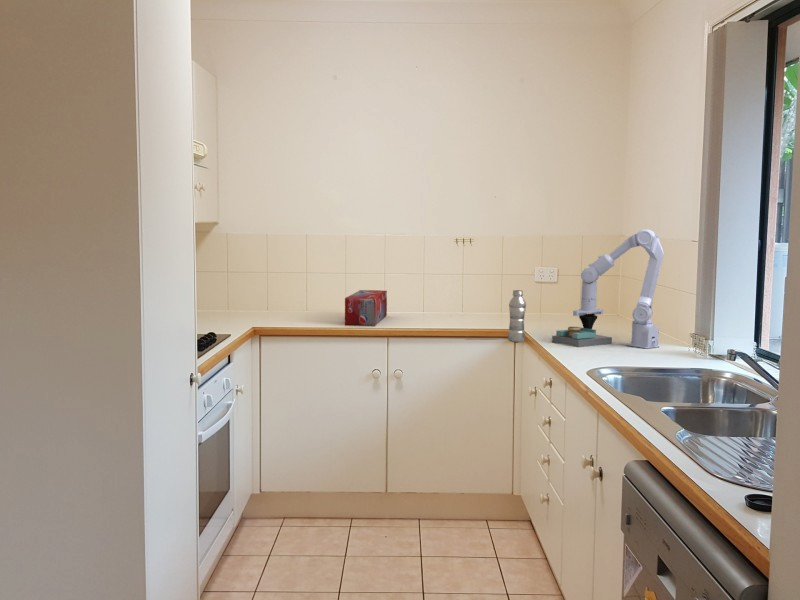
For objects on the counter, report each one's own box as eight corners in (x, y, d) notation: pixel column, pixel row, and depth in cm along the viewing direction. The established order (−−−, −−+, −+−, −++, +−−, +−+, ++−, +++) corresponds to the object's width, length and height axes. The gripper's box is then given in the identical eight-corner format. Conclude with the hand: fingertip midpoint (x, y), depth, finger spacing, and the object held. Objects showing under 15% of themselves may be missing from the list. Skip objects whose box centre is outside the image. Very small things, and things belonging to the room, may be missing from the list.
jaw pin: (581, 344, 311) (582, 328, 310) (569, 344, 310) (570, 328, 310) (577, 342, 316) (578, 326, 315) (565, 342, 315) (566, 326, 315)
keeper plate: (595, 337, 312) (596, 329, 312) (577, 338, 306) (577, 331, 306) (574, 333, 321) (575, 326, 321) (556, 335, 316) (556, 328, 315)
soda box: (358, 315, 397) (358, 289, 396) (387, 316, 396) (387, 290, 395) (343, 326, 357) (343, 296, 356) (375, 327, 356) (376, 297, 354)
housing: (611, 343, 315) (612, 337, 315) (578, 347, 305) (578, 340, 305) (584, 339, 327) (584, 332, 326) (551, 342, 317) (552, 335, 316)
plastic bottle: (506, 341, 318) (508, 289, 316) (524, 341, 317) (525, 290, 316) (508, 343, 311) (509, 291, 309) (526, 343, 311) (527, 291, 309)
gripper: (594, 297, 323) (592, 331, 324) (567, 298, 315) (566, 333, 316) (607, 298, 317) (606, 333, 319) (581, 300, 309) (580, 335, 311)
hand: (587, 333), depth 317 cm, fingers closed
